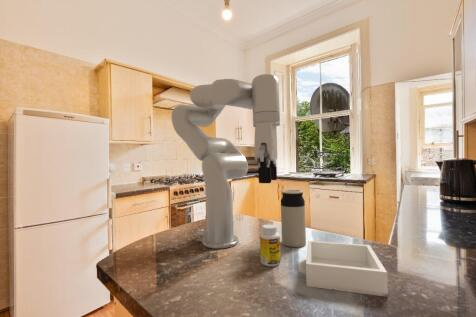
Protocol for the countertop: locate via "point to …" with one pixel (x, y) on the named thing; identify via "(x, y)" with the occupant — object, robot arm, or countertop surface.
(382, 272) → the bin
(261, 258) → the supplement bottle
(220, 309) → the countertop surface
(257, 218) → the countertop surface
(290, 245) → the travel mug
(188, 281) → the countertop surface
